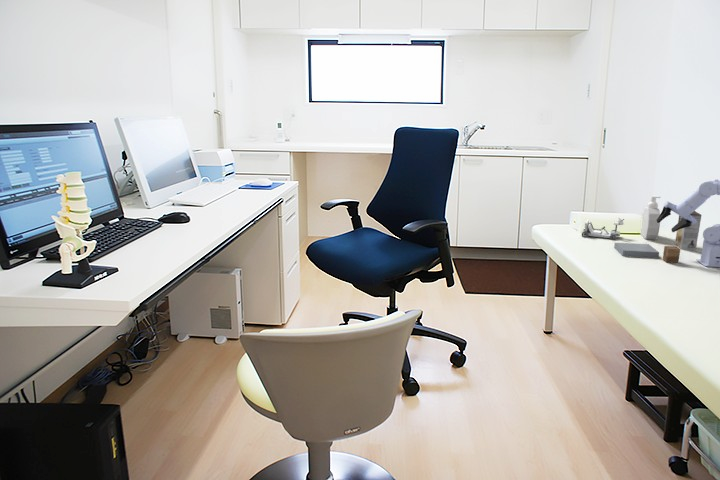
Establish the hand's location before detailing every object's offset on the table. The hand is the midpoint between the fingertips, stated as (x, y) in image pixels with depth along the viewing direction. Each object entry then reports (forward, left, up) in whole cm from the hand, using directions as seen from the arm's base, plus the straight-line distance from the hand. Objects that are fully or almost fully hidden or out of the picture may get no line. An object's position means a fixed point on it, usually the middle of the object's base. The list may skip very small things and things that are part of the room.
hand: (664, 226), depth 238 cm
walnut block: (-12, 0, -12) cm, 17 cm away
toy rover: (+31, +17, -13) cm, 37 cm away
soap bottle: (+33, -5, -13) cm, 36 cm away
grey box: (0, +10, -13) cm, 16 cm away
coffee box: (+15, -15, -13) cm, 25 cm away
